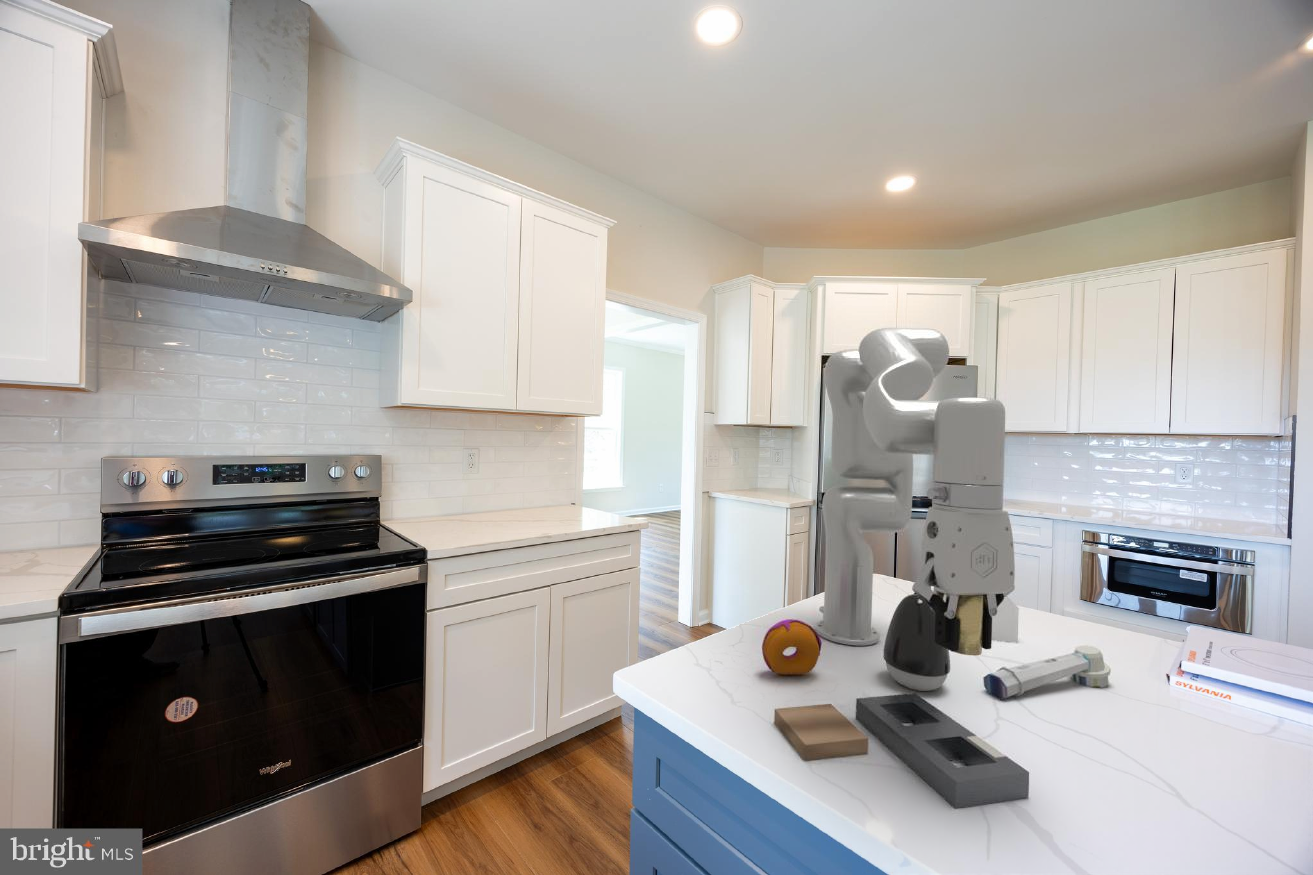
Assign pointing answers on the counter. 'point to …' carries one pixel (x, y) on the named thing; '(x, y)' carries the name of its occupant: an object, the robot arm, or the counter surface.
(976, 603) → the brass peg
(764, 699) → the counter surface
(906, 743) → the rail
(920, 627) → the black egg pod
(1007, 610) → the corner bracket
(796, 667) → the donut
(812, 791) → the counter surface
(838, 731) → the brown flat square block
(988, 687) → the grey mallet
